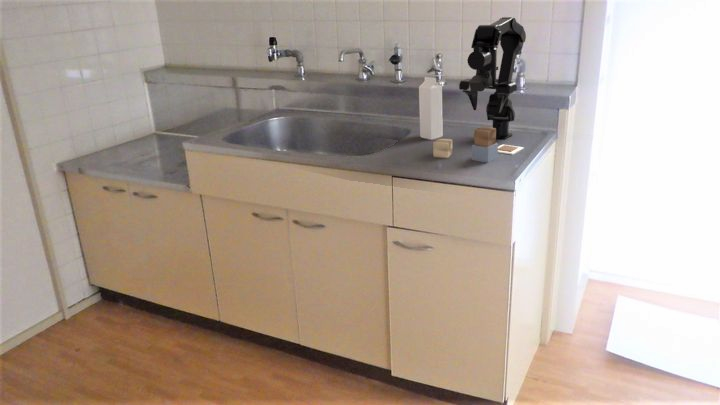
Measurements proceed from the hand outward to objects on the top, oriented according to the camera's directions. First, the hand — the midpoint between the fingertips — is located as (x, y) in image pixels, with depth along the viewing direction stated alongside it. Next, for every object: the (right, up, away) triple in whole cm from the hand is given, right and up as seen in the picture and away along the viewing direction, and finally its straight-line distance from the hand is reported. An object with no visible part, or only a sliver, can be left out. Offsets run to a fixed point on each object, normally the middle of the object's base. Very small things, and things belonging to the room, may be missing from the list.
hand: (486, 111), depth 203 cm
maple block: (-15, -15, -1) cm, 21 cm away
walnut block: (-3, -12, -9) cm, 15 cm away
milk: (-16, -7, +21) cm, 27 cm away
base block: (-2, -17, -7) cm, 18 cm away
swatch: (+7, -13, 0) cm, 15 cm away
